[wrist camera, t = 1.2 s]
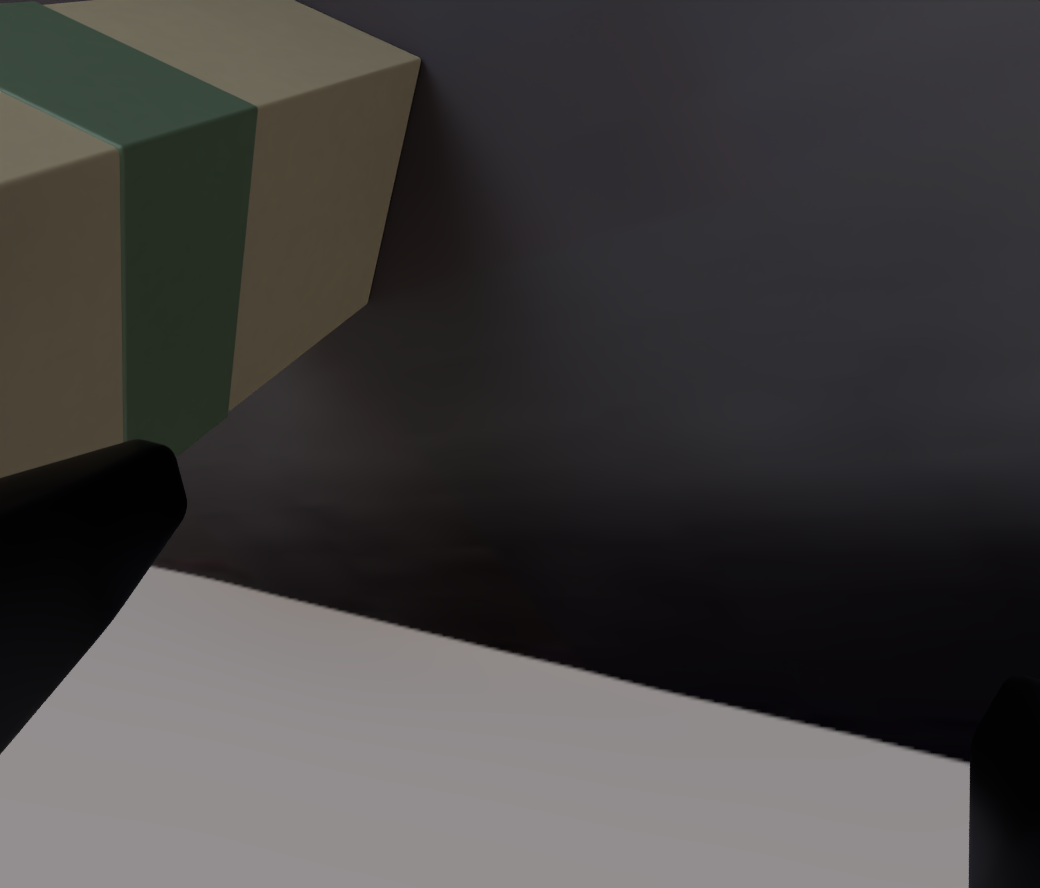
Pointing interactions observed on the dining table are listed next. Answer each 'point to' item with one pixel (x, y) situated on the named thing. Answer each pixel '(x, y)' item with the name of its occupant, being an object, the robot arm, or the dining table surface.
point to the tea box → (180, 209)
